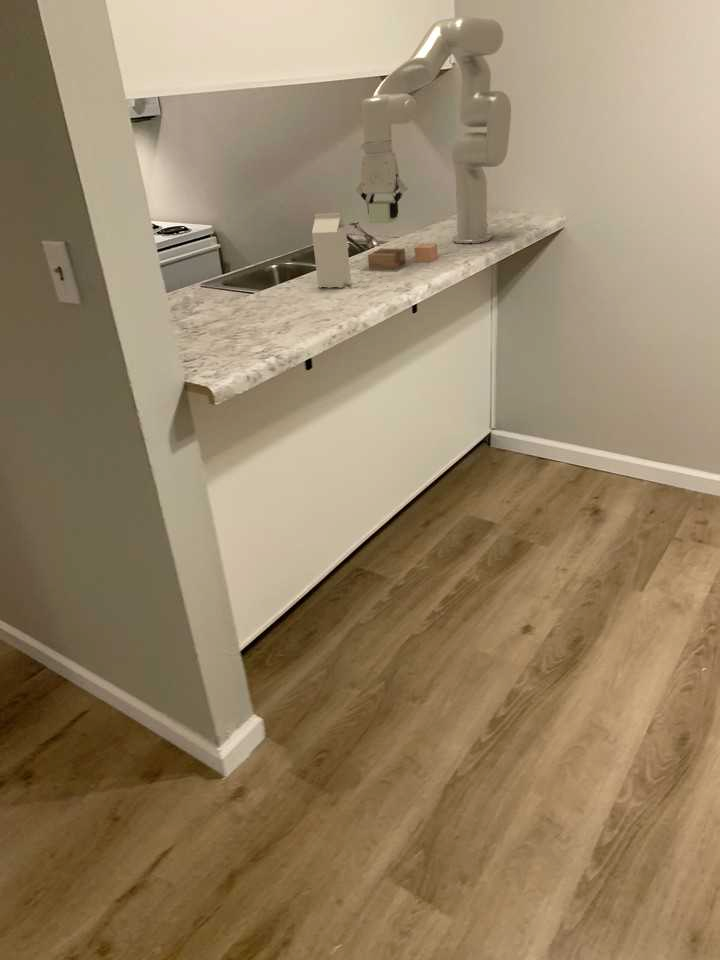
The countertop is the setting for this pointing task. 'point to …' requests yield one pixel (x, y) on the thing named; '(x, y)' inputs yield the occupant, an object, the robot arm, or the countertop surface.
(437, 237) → the countertop surface
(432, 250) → the terracotta brick
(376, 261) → the walnut brick
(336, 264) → the milk carton
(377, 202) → the sage brick
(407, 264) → the build plate
